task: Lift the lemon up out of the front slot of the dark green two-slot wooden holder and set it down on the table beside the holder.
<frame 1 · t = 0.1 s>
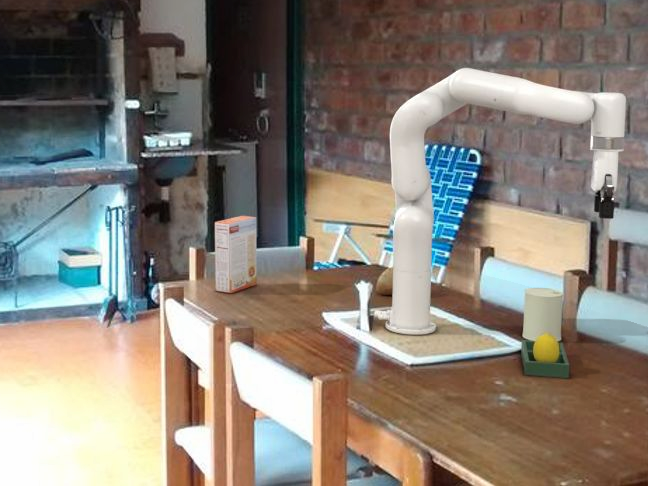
hand: (603, 215, 244), 31 cm above the table, tool pointing down, fingers open, 9 cm apart
lemon: (545, 369, 224), resting on holder
holder: (544, 364, 228), on the table
bread roll: (400, 294, 295), on the table
cracker box: (235, 289, 301), on the table
can: (541, 338, 250), on the table
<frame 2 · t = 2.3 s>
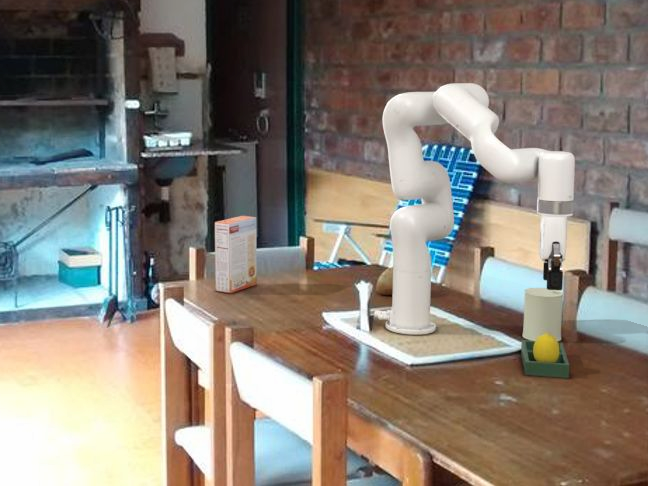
hand: (552, 284, 223), 19 cm above the table, tool pointing down, fingers open, 9 cm apart
nothing on the table moved.
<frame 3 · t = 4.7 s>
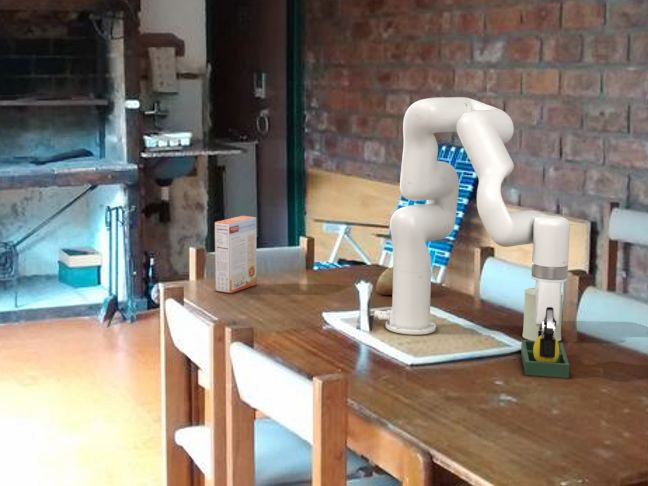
hand: (546, 351, 224), 4 cm above the table, tool pointing down, fingers closed on lemon, 5 cm apart
lemon: (545, 369, 224), resting on holder, touching gripper
everything else where it was.
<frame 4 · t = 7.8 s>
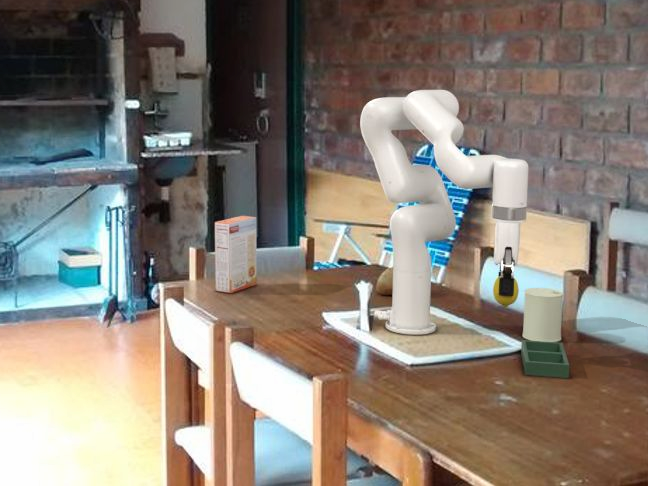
hand: (505, 291, 230), 16 cm above the table, tool pointing down, fingers closed on lemon, 5 cm apart
lemon: (504, 308, 230), point 12 cm above the table, touching gripper
everything else where it was.
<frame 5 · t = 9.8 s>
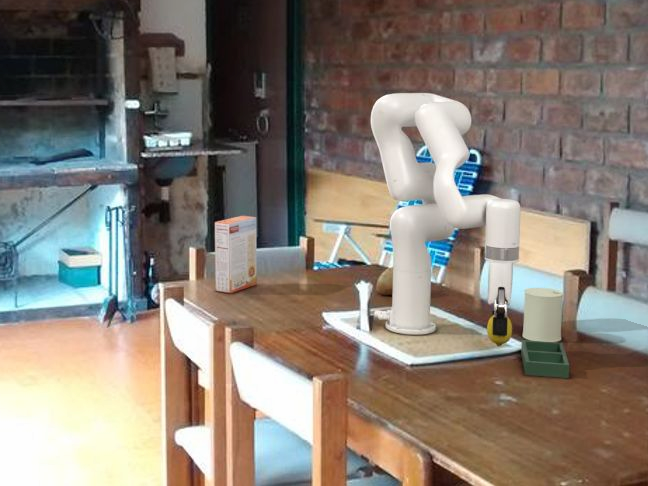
hand: (499, 330, 232), 7 cm above the table, tool pointing down, fingers closed on lemon, 5 cm apart
lemon: (498, 347, 232), point 3 cm above the table, touching gripper
everything else where it was.
when the fingers open (4 cm above the table, at t = 11.1 s): lemon stays where it is, on the table.
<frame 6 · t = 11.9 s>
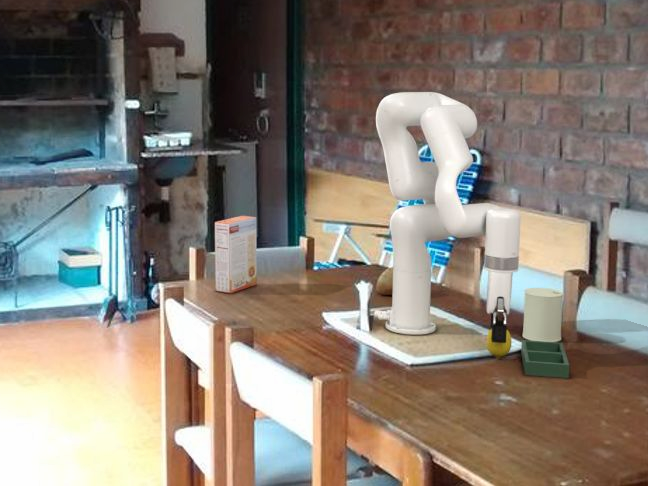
hand: (498, 336, 232), 5 cm above the table, tool pointing down, fingers open, 9 cm apart
lemon: (498, 359, 232), on the table
everything else where it was.
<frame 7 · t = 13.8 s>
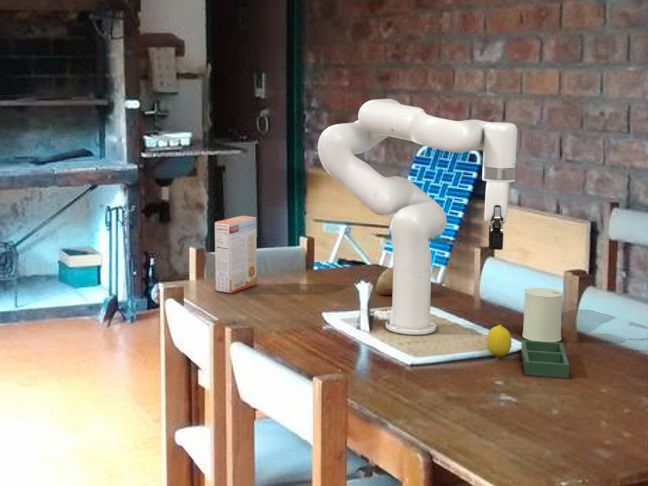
hand: (495, 245, 242), 24 cm above the table, tool pointing down, fingers open, 9 cm apart
nothing on the table moved.
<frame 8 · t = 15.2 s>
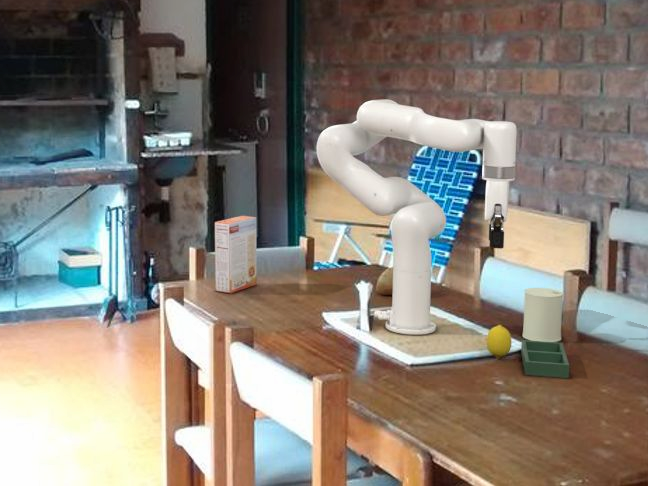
hand: (495, 244, 242), 24 cm above the table, tool pointing down, fingers open, 9 cm apart
nothing on the table moved.
at the end: lemon inside the target area (1.7 cm from its centre), on the table; the gripper is holding nothing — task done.
